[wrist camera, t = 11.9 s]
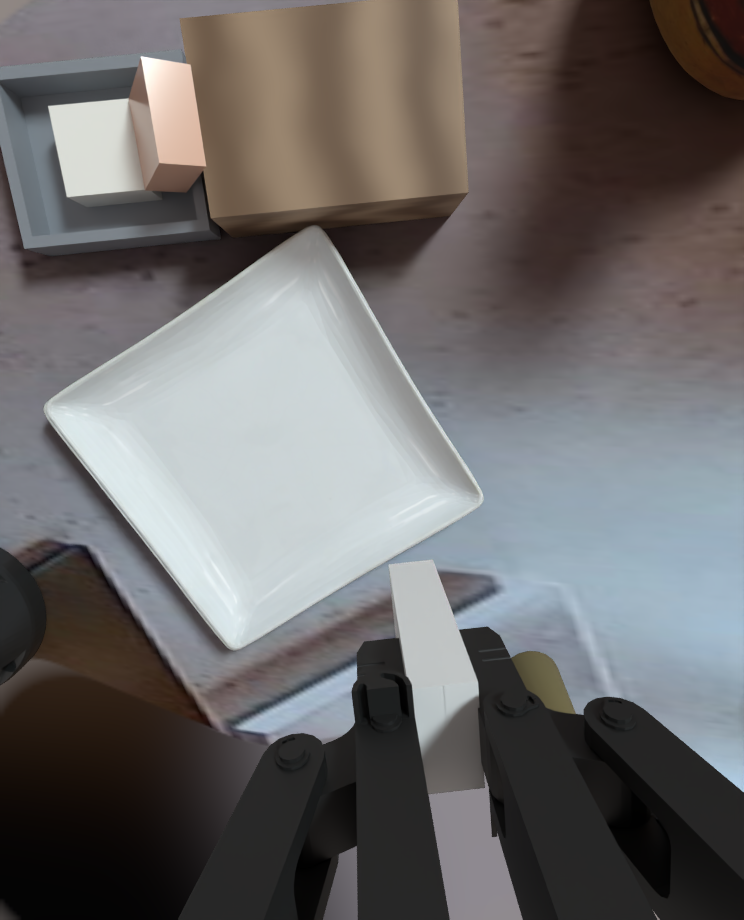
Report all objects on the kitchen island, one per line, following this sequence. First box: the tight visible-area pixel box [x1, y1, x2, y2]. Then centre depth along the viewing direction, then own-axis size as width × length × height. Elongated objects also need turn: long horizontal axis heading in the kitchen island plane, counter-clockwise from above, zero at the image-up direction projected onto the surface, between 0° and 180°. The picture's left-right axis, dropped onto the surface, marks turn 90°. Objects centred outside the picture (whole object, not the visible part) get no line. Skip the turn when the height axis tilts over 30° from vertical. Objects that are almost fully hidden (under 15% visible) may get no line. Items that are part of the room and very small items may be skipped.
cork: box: [511, 651, 576, 714], centre depth 48 cm, size 6×6×11 cm
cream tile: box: [48, 98, 163, 207], centre depth 40 cm, size 6×6×3 cm
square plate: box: [44, 225, 484, 651], centre depth 46 cm, size 27×27×4 cm
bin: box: [0, 50, 221, 256], centre depth 40 cm, size 14×12×4 cm
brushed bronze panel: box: [180, 0, 468, 238], centre depth 39 cm, size 18×12×7 cm, turn 96°
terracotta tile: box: [128, 56, 206, 193], centre depth 36 cm, size 6×6×3 cm
